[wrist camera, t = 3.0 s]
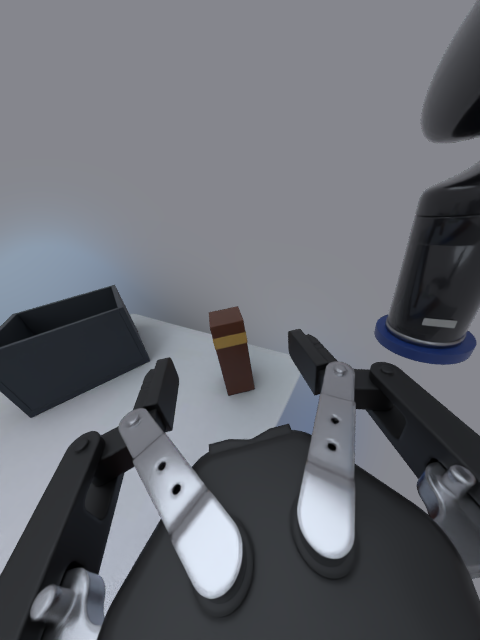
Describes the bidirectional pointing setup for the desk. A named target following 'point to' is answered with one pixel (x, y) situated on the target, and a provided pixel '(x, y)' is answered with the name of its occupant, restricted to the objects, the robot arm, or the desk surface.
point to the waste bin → (67, 349)
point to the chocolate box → (232, 349)
